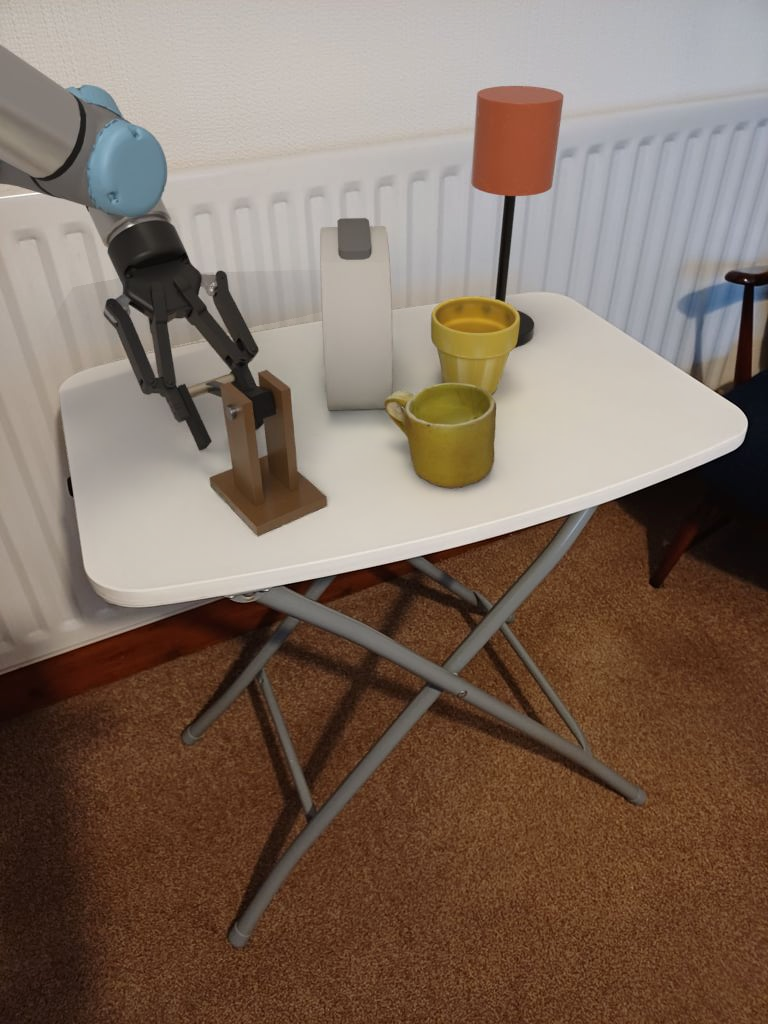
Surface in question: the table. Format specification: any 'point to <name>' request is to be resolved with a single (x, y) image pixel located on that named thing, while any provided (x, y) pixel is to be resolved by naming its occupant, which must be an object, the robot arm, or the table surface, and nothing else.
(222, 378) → the switch lever
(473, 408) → the mug
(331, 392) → the alarm clock
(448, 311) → the flower pot
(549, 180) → the lamp
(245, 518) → the wooden lever stand
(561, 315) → the table surface
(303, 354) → the table surface
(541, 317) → the table surface
